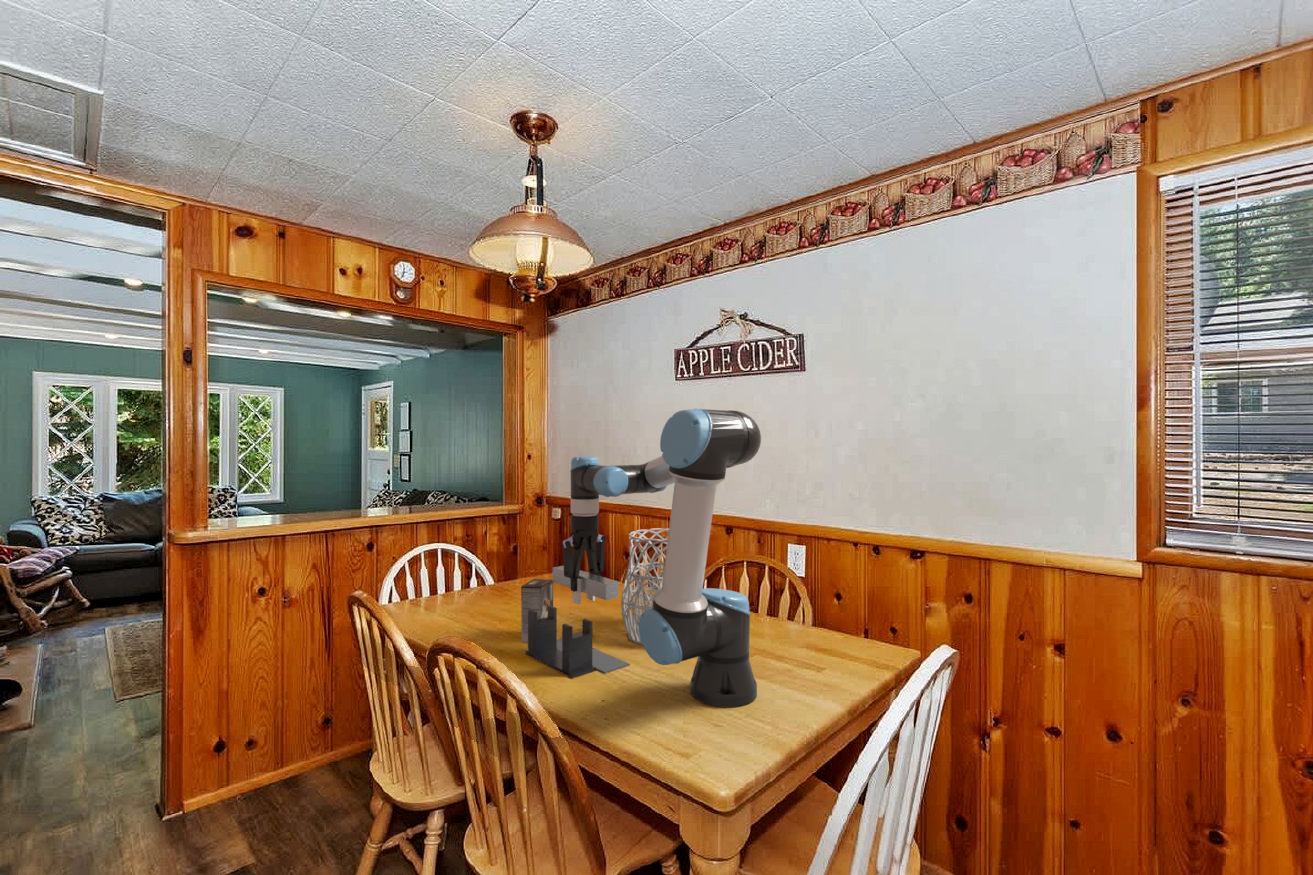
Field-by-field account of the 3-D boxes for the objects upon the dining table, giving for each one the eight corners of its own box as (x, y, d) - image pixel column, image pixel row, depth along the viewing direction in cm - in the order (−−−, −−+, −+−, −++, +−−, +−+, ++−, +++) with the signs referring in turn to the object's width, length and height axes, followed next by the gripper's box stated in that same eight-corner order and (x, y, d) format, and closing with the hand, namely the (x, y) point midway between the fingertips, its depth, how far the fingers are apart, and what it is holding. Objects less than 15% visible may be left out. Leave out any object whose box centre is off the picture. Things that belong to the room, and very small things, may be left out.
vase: (658, 656, 160) (659, 543, 159) (604, 634, 178) (604, 532, 178) (720, 636, 175) (721, 533, 175) (665, 617, 194) (665, 524, 194)
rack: (595, 670, 150) (596, 622, 150) (572, 678, 145) (572, 628, 145) (547, 647, 166) (547, 604, 166) (525, 653, 161) (525, 609, 161)
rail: (618, 597, 154) (618, 581, 154) (605, 600, 151) (605, 584, 151) (564, 579, 171) (564, 565, 171) (552, 581, 169) (552, 567, 169)
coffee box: (533, 631, 179) (533, 578, 179) (553, 633, 178) (554, 579, 178) (520, 642, 170) (520, 585, 170) (541, 643, 169) (542, 586, 169)
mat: (629, 665, 154) (629, 663, 154) (605, 673, 148) (605, 671, 148) (566, 638, 174) (566, 636, 174) (543, 644, 169) (543, 643, 169)
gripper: (601, 509, 169) (600, 592, 170) (549, 515, 158) (549, 604, 158) (618, 512, 164) (617, 598, 164) (566, 518, 152) (565, 610, 153)
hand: (583, 600), depth 161 cm, fingers closed on rail, 4 cm apart
